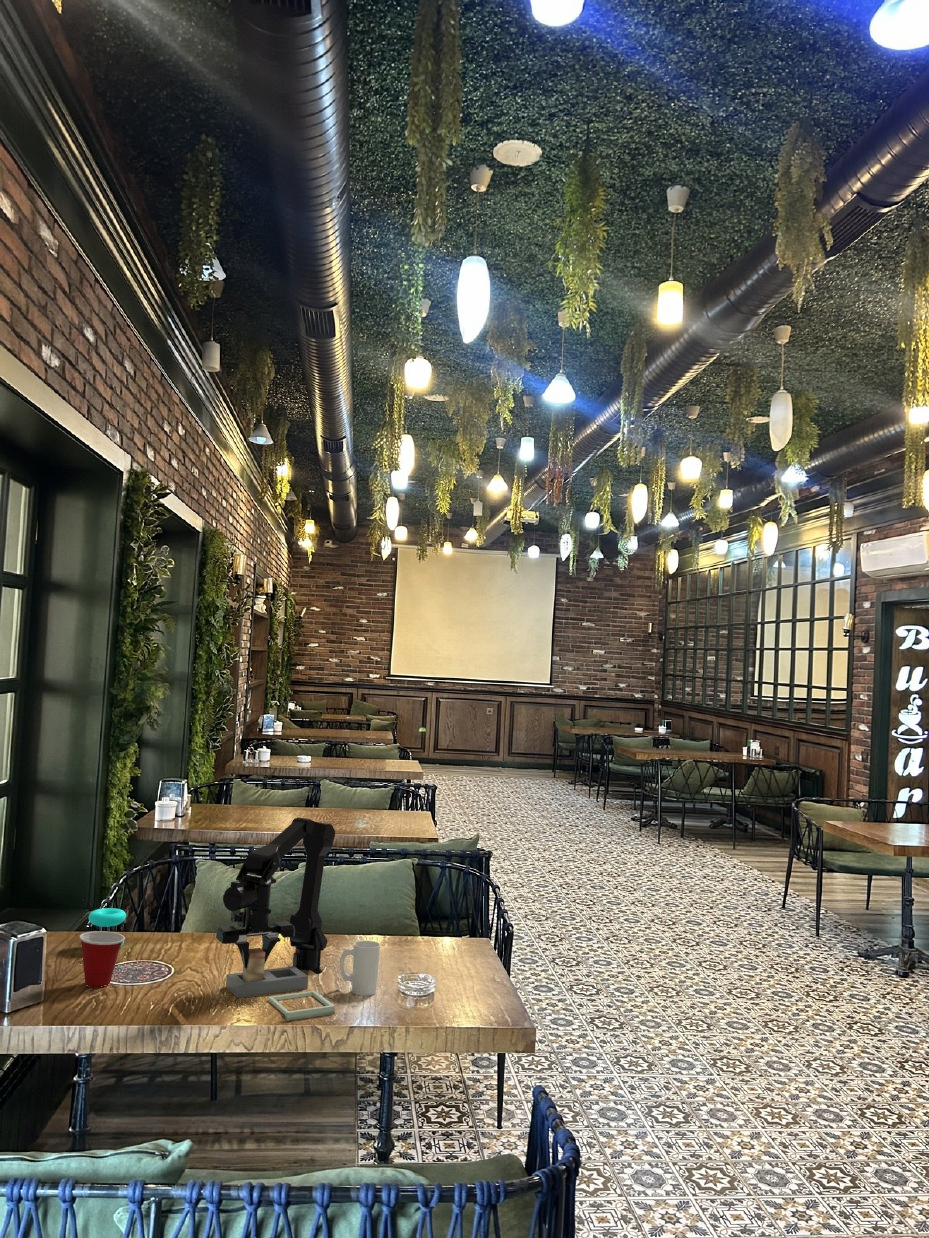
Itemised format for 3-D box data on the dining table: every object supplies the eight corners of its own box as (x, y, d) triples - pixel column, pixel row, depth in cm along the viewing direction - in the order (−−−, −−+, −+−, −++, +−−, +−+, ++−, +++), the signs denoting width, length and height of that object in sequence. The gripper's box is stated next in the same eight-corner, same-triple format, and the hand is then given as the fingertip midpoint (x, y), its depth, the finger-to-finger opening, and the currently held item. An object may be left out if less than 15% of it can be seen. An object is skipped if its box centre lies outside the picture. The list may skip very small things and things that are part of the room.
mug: (376, 987, 242) (379, 940, 243) (377, 996, 235) (380, 948, 236) (337, 987, 241) (340, 939, 242) (337, 995, 234) (340, 947, 235)
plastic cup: (119, 990, 229) (123, 940, 230) (72, 991, 226) (76, 941, 227) (123, 976, 240) (127, 929, 241) (78, 977, 237) (82, 929, 238)
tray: (314, 997, 232) (314, 990, 232) (334, 1013, 222) (334, 1005, 222) (267, 1004, 225) (268, 996, 226) (286, 1020, 215) (287, 1012, 215)
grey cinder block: (293, 981, 243) (294, 966, 243) (306, 992, 236) (307, 976, 236) (225, 990, 234) (226, 974, 234) (237, 1001, 226) (238, 984, 226)
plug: (257, 980, 236) (259, 947, 236) (263, 984, 232) (265, 951, 233) (242, 982, 233) (244, 949, 234) (247, 986, 230) (249, 953, 231)
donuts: (133, 908, 269) (114, 917, 259) (130, 944, 268) (111, 953, 259) (101, 905, 271) (81, 913, 261) (98, 940, 270) (78, 950, 260)
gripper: (281, 893, 246) (277, 954, 245) (211, 899, 236) (206, 962, 235) (297, 903, 237) (293, 966, 235) (225, 909, 227) (221, 975, 225)
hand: (253, 966), depth 233 cm, fingers closed on plug, 4 cm apart
